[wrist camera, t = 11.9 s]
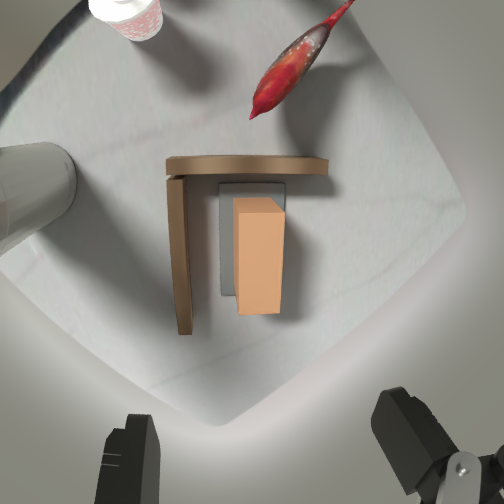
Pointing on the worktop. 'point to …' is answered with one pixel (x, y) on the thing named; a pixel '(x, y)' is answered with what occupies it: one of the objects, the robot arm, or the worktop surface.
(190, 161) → the walnut corner
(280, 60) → the decorative bird figurine
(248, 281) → the terracotta block
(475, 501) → the robot arm
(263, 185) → the slate pad
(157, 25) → the beverage cup
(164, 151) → the worktop surface
